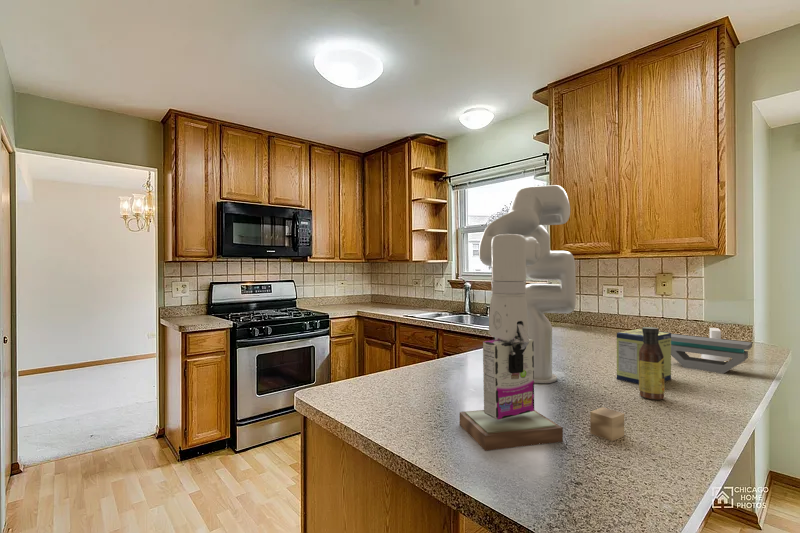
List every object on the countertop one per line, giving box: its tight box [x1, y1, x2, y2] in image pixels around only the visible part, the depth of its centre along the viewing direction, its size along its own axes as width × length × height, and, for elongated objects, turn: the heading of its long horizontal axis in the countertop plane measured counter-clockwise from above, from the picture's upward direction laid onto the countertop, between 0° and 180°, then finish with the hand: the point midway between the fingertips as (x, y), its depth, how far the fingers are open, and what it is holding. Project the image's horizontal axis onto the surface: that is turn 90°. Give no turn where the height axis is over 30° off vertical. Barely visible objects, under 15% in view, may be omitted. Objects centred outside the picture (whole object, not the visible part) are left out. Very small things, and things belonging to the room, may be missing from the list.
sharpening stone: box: [671, 333, 753, 374], centre depth 149 cm, size 25×8×11 cm, turn 42°
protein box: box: [616, 328, 672, 385], centre depth 136 cm, size 10×16×16 cm
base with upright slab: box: [700, 327, 730, 361], centre depth 164 cm, size 9×9×12 cm
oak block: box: [589, 406, 625, 442], centre depth 91 cm, size 5×5×5 cm
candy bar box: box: [482, 338, 535, 419], centre depth 92 cm, size 11×5×16 cm, turn 117°
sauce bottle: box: [638, 326, 666, 401], centre depth 117 cm, size 6×6×20 cm
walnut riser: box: [459, 409, 564, 452], centre depth 92 cm, size 14×18×3 cm
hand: (508, 368), depth 92 cm, fingers closed on candy bar box, 5 cm apart
